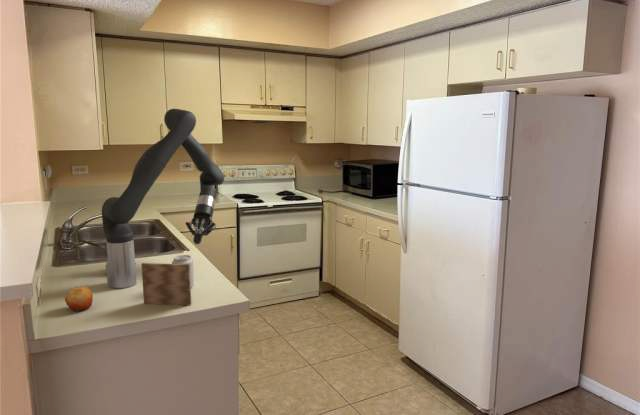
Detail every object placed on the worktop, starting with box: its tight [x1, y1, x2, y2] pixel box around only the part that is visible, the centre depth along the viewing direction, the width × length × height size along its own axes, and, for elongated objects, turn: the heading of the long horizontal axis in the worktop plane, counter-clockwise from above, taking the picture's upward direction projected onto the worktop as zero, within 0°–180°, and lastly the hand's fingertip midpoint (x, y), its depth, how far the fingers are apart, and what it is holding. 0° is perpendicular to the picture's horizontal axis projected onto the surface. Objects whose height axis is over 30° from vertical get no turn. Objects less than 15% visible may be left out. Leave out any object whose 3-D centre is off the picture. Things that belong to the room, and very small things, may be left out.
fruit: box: [64, 286, 94, 311], centre depth 148 cm, size 8×8×8 cm
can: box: [171, 254, 195, 289], centre depth 166 cm, size 8×8×12 cm
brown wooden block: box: [141, 262, 192, 306], centre depth 153 cm, size 16×6×14 cm, turn 87°
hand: (196, 243), depth 181 cm, fingers closed
